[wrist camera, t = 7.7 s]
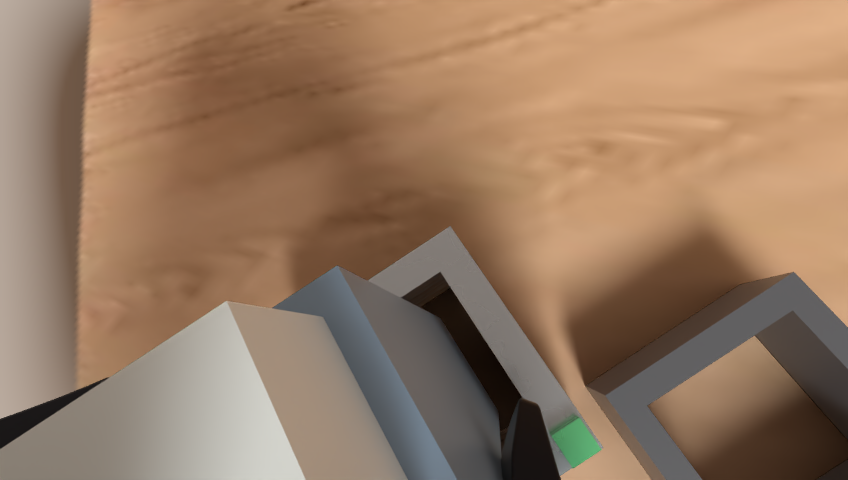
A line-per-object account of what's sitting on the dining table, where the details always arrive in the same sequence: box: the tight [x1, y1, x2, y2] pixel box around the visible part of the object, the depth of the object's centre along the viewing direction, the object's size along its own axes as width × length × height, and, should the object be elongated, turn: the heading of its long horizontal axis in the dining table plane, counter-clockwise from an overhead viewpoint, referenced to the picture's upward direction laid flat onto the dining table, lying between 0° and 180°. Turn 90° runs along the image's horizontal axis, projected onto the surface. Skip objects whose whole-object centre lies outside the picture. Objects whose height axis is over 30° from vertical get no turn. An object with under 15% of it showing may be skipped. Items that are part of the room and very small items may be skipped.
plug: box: [0, 265, 503, 480], centre depth 9 cm, size 4×4×13 cm
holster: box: [586, 272, 848, 480], centre depth 13 cm, size 7×7×3 cm
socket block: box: [368, 226, 603, 476], centre depth 15 cm, size 8×8×4 cm
